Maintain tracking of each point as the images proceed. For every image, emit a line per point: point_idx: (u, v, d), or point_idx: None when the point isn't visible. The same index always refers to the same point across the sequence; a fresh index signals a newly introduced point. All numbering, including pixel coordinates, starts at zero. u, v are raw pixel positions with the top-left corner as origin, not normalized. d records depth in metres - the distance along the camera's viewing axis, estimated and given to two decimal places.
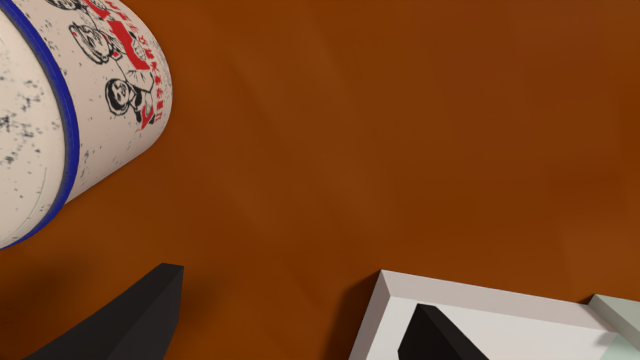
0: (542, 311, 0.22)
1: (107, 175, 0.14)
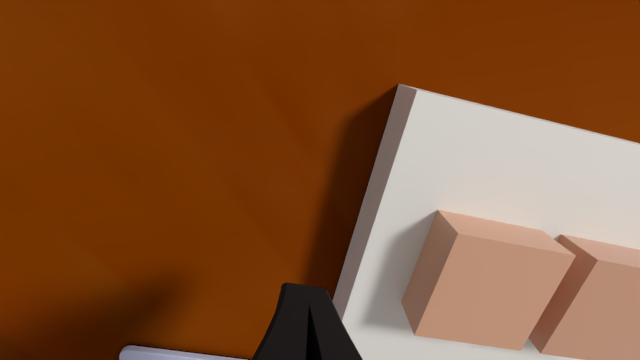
0: None
1: None
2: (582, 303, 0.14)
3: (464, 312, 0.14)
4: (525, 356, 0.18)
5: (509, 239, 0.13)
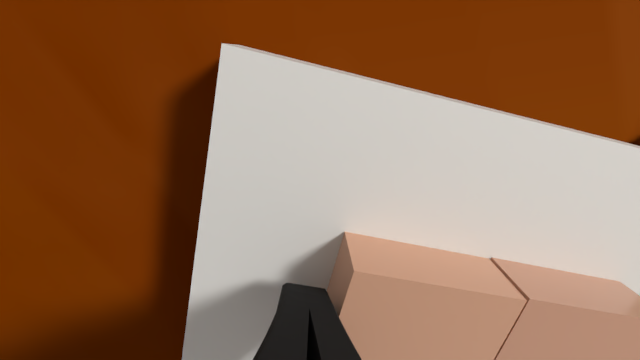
0: (569, 129, 0.11)
1: None
2: (512, 356, 0.10)
3: None
4: None
5: (434, 276, 0.09)
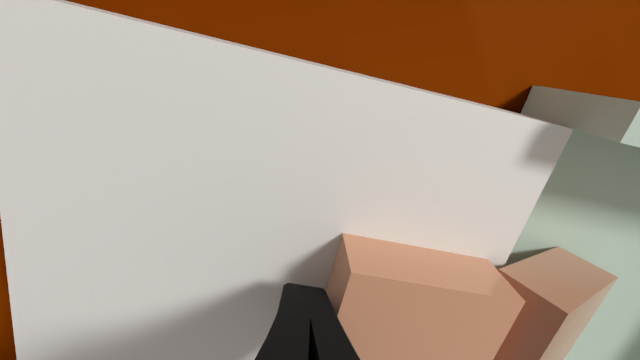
0: (407, 87, 0.10)
1: None
2: None
3: None
4: None
5: (432, 278, 0.09)
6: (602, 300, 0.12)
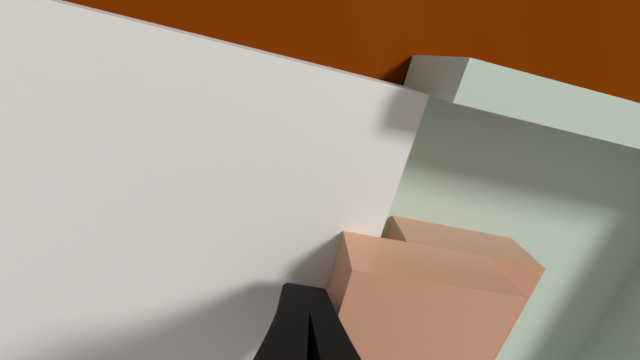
0: (256, 50, 0.09)
1: None
2: None
3: None
4: None
5: (433, 274, 0.09)
6: (530, 292, 0.12)
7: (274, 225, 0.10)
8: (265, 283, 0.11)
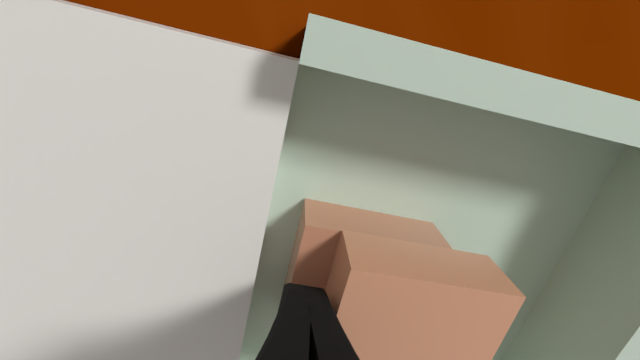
0: (119, 16, 0.09)
1: None
2: (305, 282, 0.11)
3: None
4: None
5: (432, 273, 0.09)
6: None
7: (152, 203, 0.10)
8: (151, 265, 0.10)
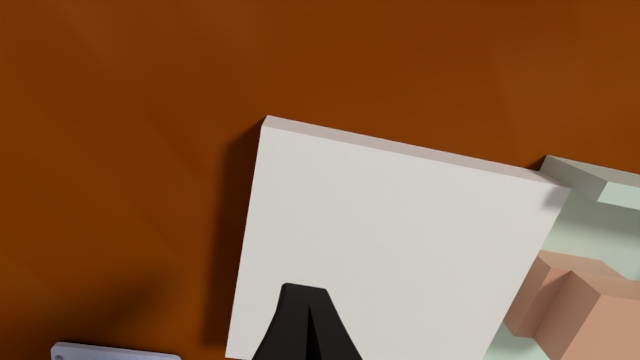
0: (474, 164, 0.17)
1: None
2: (541, 298, 0.19)
3: (596, 349, 0.18)
4: (401, 348, 0.20)
5: (635, 296, 0.17)
6: None
7: (474, 258, 0.18)
8: (461, 291, 0.19)
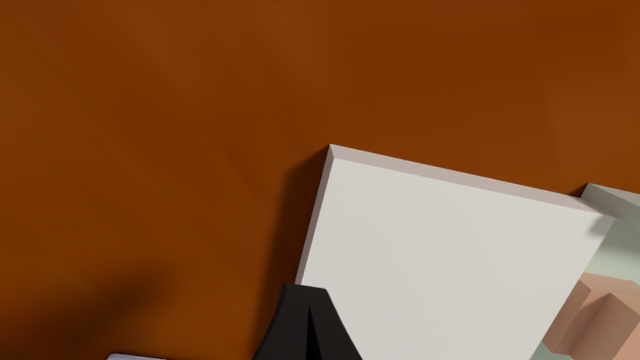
0: (525, 193, 0.18)
1: None
2: (580, 318, 0.20)
3: None
4: None
5: None
6: None
7: (520, 280, 0.19)
8: (506, 310, 0.20)
